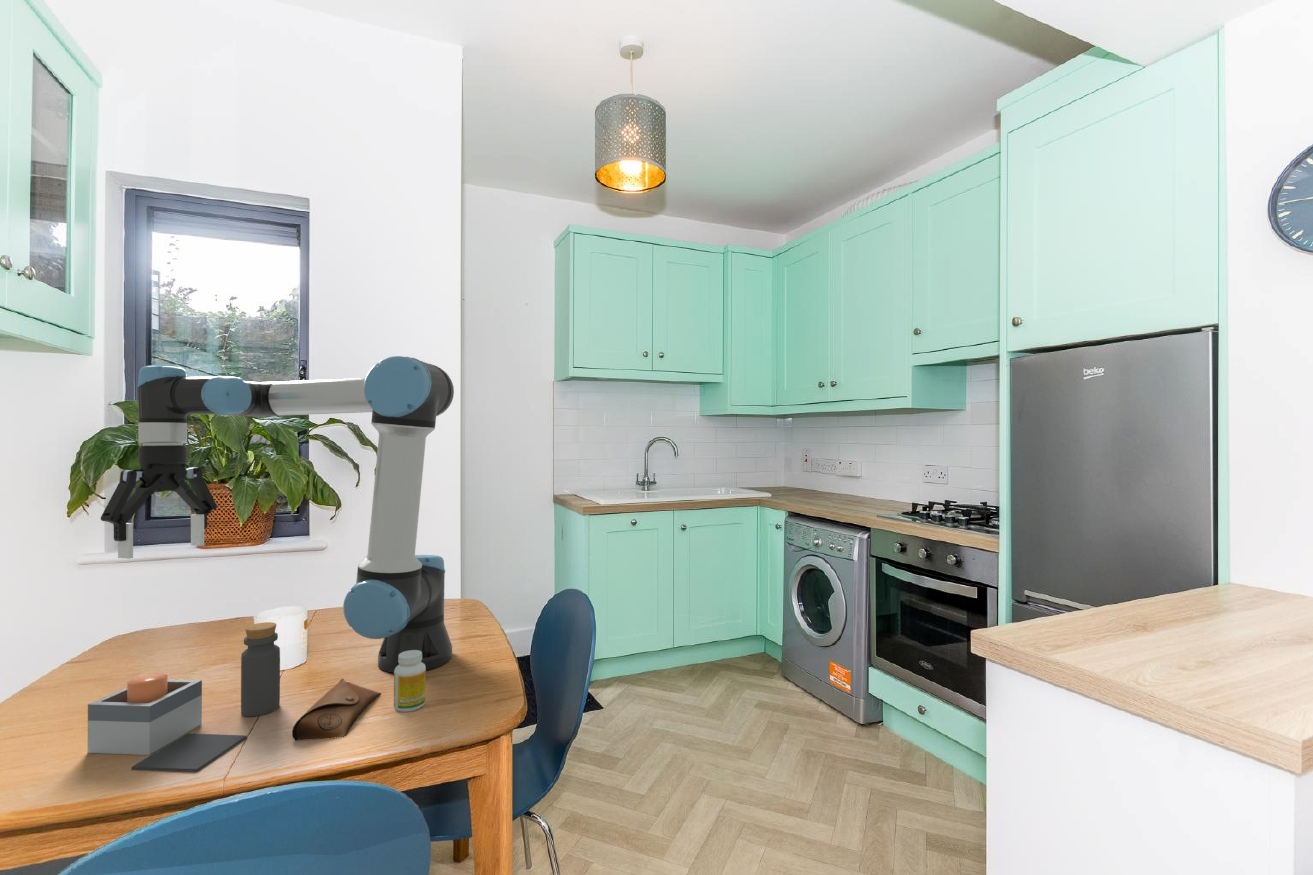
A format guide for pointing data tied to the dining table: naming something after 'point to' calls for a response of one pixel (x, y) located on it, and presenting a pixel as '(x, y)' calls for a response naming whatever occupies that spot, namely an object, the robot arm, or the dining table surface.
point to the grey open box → (144, 719)
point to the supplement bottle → (409, 682)
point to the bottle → (260, 670)
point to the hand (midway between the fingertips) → (163, 551)
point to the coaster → (190, 752)
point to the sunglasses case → (334, 712)
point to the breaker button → (147, 688)
